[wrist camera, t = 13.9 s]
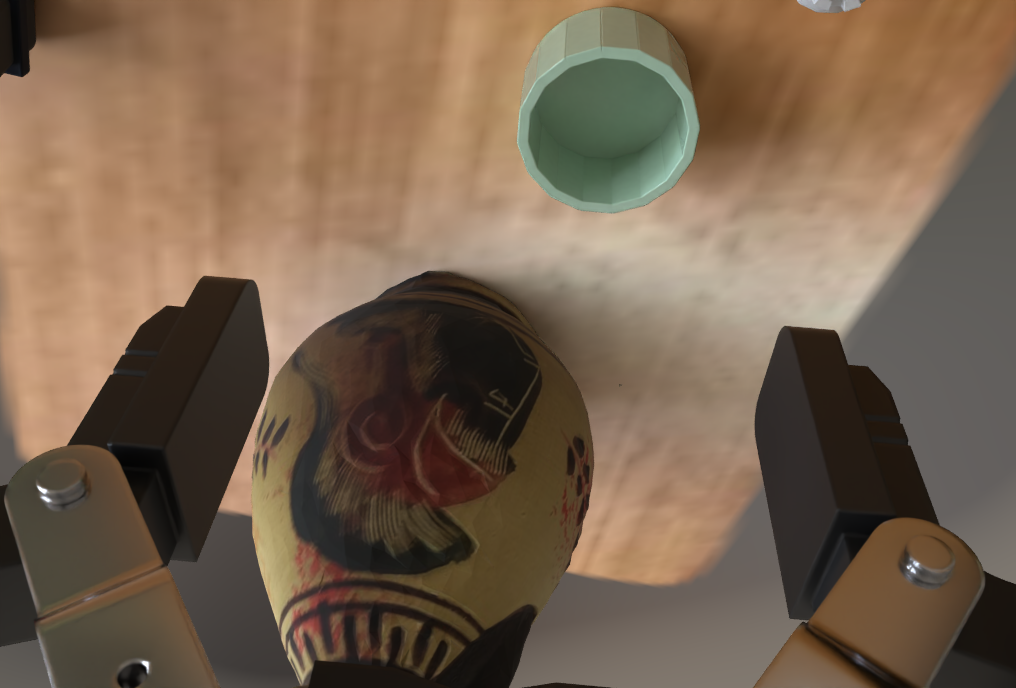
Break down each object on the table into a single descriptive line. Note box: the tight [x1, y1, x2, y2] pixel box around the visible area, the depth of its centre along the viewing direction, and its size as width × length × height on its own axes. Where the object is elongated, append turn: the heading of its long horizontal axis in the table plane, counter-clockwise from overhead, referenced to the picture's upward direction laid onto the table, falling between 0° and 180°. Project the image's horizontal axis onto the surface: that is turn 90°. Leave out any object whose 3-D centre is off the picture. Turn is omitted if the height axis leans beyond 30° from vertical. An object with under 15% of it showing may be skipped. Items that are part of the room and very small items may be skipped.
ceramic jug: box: [251, 271, 621, 688], centre depth 37 cm, size 17×15×30 cm
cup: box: [517, 7, 700, 213], centre depth 36 cm, size 7×7×4 cm
